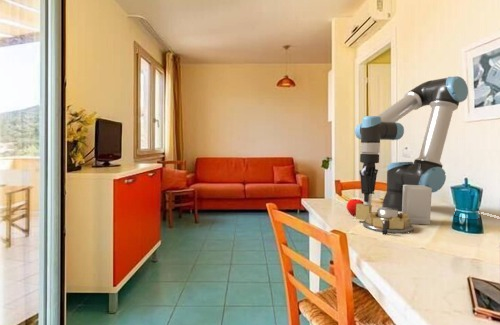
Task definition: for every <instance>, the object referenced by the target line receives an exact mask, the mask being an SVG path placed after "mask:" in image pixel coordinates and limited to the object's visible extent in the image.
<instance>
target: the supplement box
mask: <svg viewBox="0 0 500 325" xmlns="http://www.w3.org/2000/svg"><path fill="white" fill-rule="evenodd" d="M432 193H433V192H432V188H429V187H427V186H424V185H403V198H402V211H401V213H406V214H408V217H410V225H411V224H412V225H414V224H415V225H429V226H430V225H431V215H432V214H431V210H432Z"/></svg>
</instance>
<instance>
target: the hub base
mask: <svg viewBox="0 0 500 325" xmlns="http://www.w3.org/2000/svg"><path fill="white" fill-rule="evenodd" d="M377 210H378V218H384V219H391V217H398V214H399V211H398V210H397V209H394V208H387V207H378V209H377ZM362 221H363V222H362V226H363V227H364V228H366V229H367V230H371V231H375V232H378V231H379V233H382V235H384V234H385V235H384V236H386V234H387V235H388V234H395V233H402V234H409V233H412V232H414V226H413V224H412V225H411V224H410V226H409V227H408V228H406V229H404V228H403V229H389V228H387V225H388V220H383V228H381V227H376V226H373V225H370V224H368V223H367V222H366V220H362ZM411 231H412V232H411ZM408 232H409V233H408Z"/></svg>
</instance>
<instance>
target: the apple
mask: <svg viewBox="0 0 500 325" xmlns="http://www.w3.org/2000/svg"><path fill="white" fill-rule="evenodd" d="M356 204H364V200H361V199H359V198H358V199H357V198H356V199H352V198H351V199H350V200H348V201H347V203H346V210H347V212H348V213H349V214H350V215H351V216H353V217H356Z"/></svg>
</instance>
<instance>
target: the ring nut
mask: <svg viewBox="0 0 500 325" xmlns="http://www.w3.org/2000/svg"><path fill="white" fill-rule="evenodd" d="M372 208H373V205H372V204H371V205H366V204H356V216H355V219H356V220H362V221H365V220H366V222H367V223H368V224H370V225H373V226H376V227H381V228H383V220H388V225H387V228H389V229H403V228H404V229H406V228H408V227H409V226H410V225H411V224H410V217H408V214H406V213H402V212H399V213H398V217H391V219H384V218H378V209H377V210H376V211H372V210H373V209H372Z"/></svg>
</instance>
